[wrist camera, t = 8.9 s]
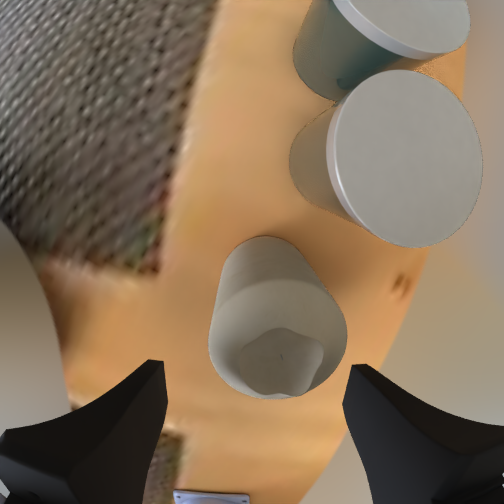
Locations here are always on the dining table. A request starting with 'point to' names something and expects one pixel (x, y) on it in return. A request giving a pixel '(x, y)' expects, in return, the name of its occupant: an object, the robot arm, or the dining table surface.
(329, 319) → the candle
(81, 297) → the dining table surface
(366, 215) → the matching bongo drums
